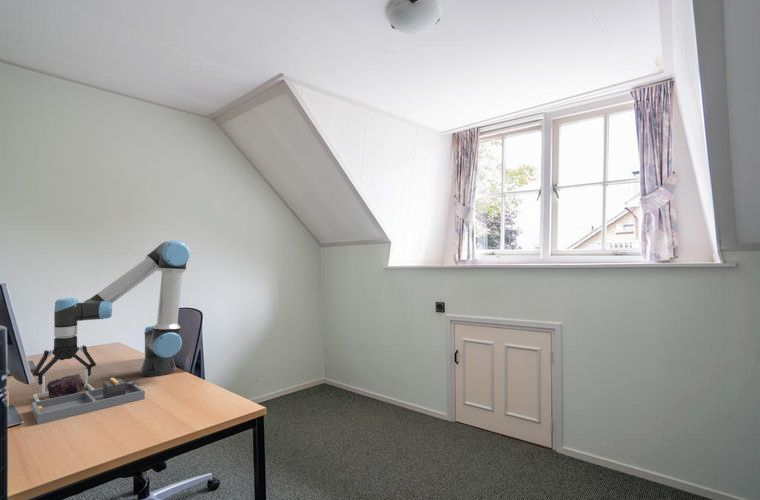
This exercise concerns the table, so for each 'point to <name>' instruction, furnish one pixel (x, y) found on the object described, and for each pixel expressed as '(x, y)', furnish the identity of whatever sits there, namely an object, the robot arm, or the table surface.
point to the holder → (87, 401)
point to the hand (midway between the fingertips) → (65, 388)
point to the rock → (65, 386)
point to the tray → (37, 396)
